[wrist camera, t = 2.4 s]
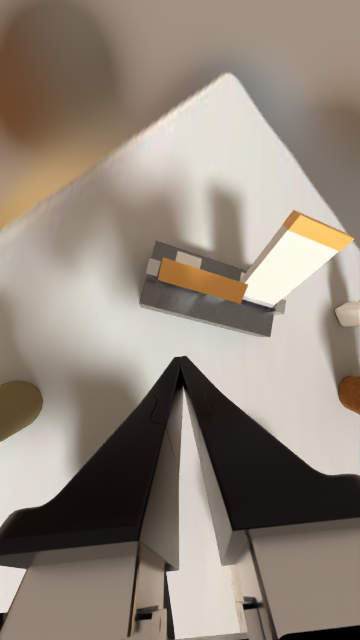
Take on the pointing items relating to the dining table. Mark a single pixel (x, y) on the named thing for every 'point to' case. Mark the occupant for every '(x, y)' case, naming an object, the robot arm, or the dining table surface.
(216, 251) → the dining table surface
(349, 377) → the disposable coffee cup
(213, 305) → the light switch frame
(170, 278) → the panel
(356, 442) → the dining table surface
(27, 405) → the pepper shaker
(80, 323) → the dining table surface
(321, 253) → the white orange-topped slab
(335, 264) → the dining table surface
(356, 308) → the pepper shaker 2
